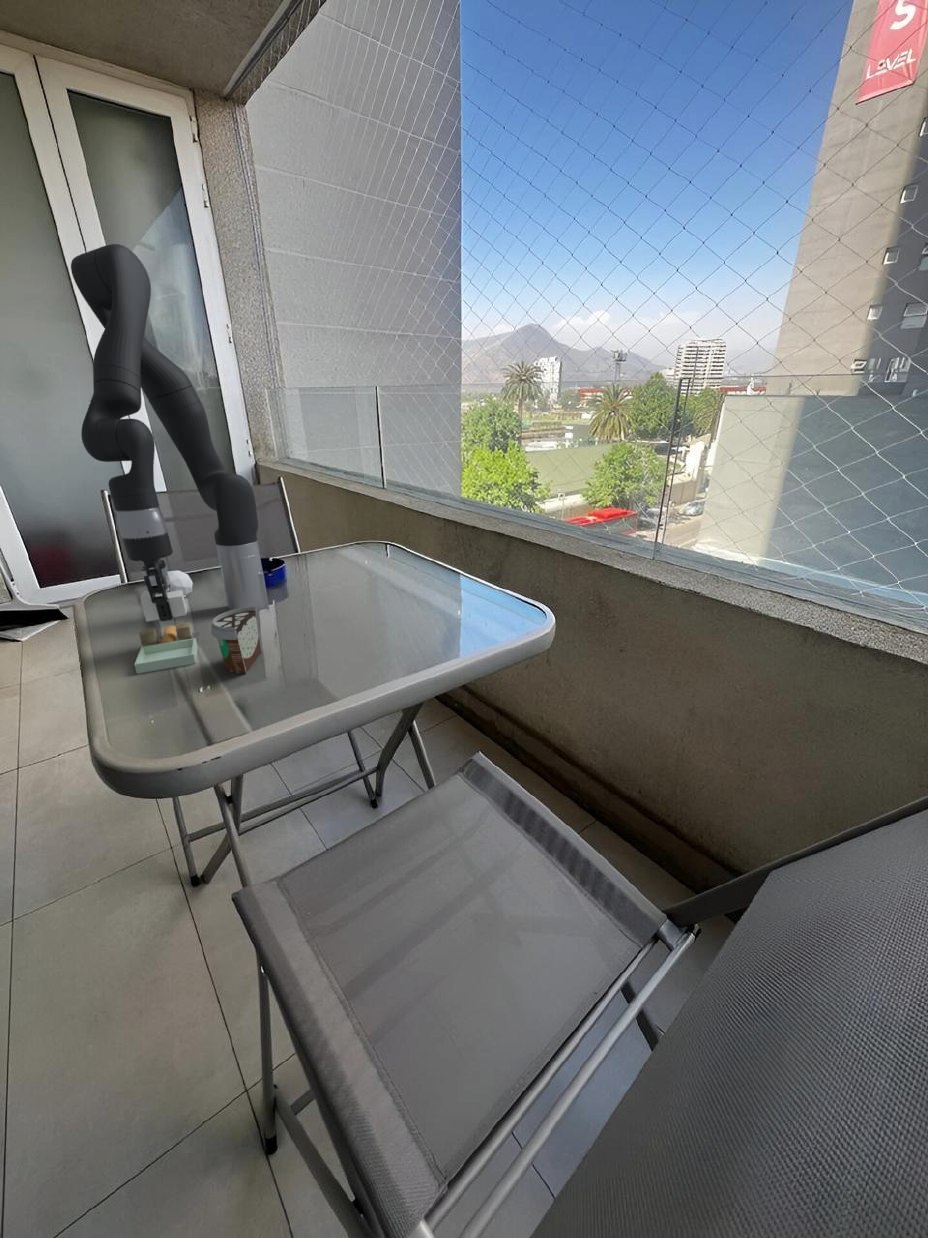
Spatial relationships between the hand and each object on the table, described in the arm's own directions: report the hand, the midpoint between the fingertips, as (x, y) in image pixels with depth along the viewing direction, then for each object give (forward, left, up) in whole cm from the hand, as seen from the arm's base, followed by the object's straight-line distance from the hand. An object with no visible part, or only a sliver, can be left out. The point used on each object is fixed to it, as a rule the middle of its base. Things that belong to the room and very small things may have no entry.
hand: (167, 615), depth 99 cm
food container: (-12, +15, -8) cm, 20 cm away
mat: (0, +3, -7) cm, 8 cm away
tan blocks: (+1, 0, -7) cm, 7 cm away
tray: (0, +7, -7) cm, 10 cm away
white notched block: (0, 0, 0) cm, 0 cm away
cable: (+1, -2, -7) cm, 7 cm away
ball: (+2, -38, -8) cm, 39 cm away
